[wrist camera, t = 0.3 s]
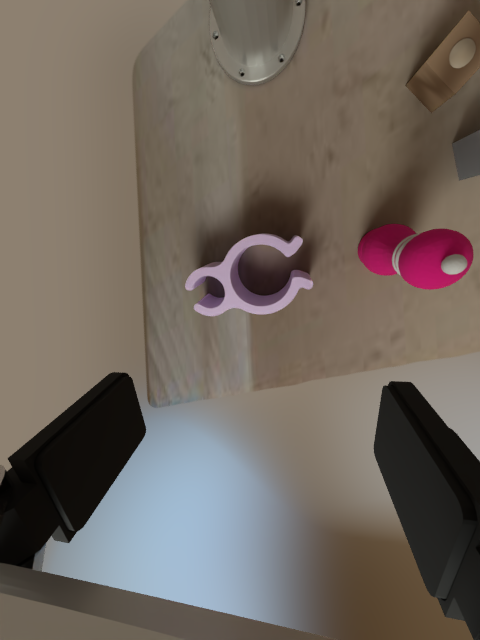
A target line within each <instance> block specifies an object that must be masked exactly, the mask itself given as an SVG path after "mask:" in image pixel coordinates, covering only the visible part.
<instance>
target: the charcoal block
mask: <svg viewBox="0 0 480 640" xmlns="http://www.w3.org/2000/svg"><path fill="white" fill-rule="evenodd" d="M452 146H453V151H454V156H455V161H456V166H457V172H458V177H459V180H463V179H466V178H470V177H474V176H477V175H480V130H478V131H476V132H474V133H472V134H470V135H468V136H466V137H464V138H462V139H460V140H458V141H456V142H454V143H452Z"/></svg>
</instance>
